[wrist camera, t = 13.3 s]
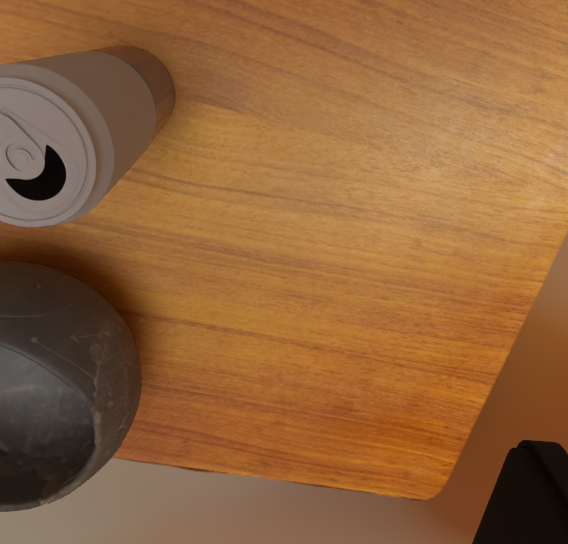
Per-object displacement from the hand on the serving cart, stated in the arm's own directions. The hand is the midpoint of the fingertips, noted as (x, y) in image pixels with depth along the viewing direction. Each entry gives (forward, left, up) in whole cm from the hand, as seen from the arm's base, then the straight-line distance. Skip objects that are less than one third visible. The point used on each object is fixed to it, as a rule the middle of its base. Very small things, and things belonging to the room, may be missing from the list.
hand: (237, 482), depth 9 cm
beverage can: (-2, -9, -26) cm, 27 cm away
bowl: (+18, -16, -34) cm, 42 cm away
